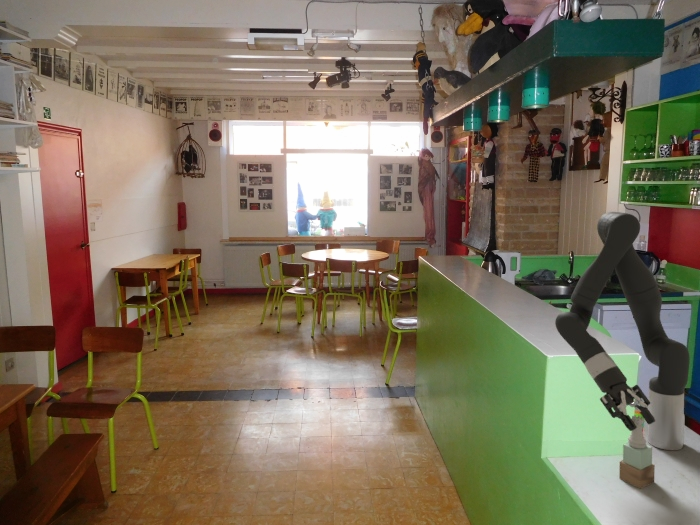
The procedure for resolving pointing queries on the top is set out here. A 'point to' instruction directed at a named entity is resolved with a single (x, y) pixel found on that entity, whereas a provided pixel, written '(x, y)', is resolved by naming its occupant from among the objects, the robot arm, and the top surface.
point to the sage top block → (637, 456)
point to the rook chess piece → (637, 434)
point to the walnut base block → (637, 474)
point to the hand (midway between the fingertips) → (643, 426)
